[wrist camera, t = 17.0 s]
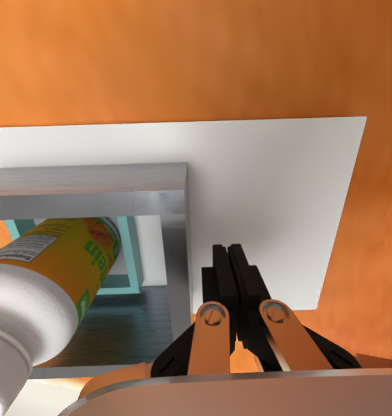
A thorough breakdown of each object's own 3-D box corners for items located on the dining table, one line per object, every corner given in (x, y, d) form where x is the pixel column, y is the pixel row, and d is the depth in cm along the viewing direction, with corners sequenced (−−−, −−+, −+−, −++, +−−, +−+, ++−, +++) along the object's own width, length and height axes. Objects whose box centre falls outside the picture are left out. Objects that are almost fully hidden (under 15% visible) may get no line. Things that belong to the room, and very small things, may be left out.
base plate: (353, 116, 14) (389, 115, 11) (309, 298, 20) (326, 324, 17) (-11, 128, 13) (-56, 129, 11) (58, 307, 20) (39, 334, 17)
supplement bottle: (128, 266, 16) (49, 441, 7) (61, 270, 16) (-98, 450, 7) (113, 202, 14) (-22, 339, 5) (36, 208, 14) (-227, 351, 5)
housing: (187, 162, 13) (183, 189, 8) (193, 294, 18) (193, 373, 12) (1, 167, 13) (-137, 200, 8) (52, 299, 17) (-13, 380, 12)
